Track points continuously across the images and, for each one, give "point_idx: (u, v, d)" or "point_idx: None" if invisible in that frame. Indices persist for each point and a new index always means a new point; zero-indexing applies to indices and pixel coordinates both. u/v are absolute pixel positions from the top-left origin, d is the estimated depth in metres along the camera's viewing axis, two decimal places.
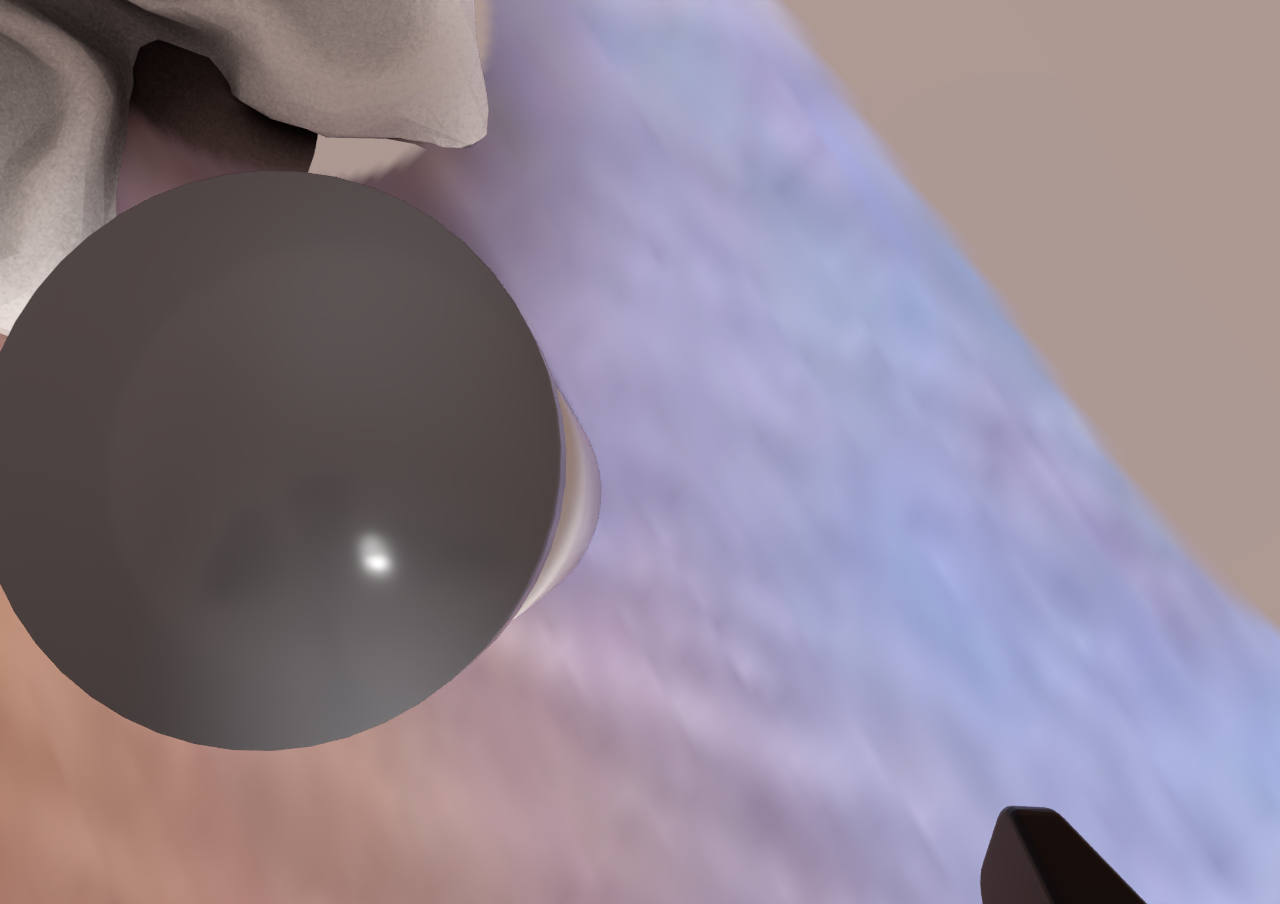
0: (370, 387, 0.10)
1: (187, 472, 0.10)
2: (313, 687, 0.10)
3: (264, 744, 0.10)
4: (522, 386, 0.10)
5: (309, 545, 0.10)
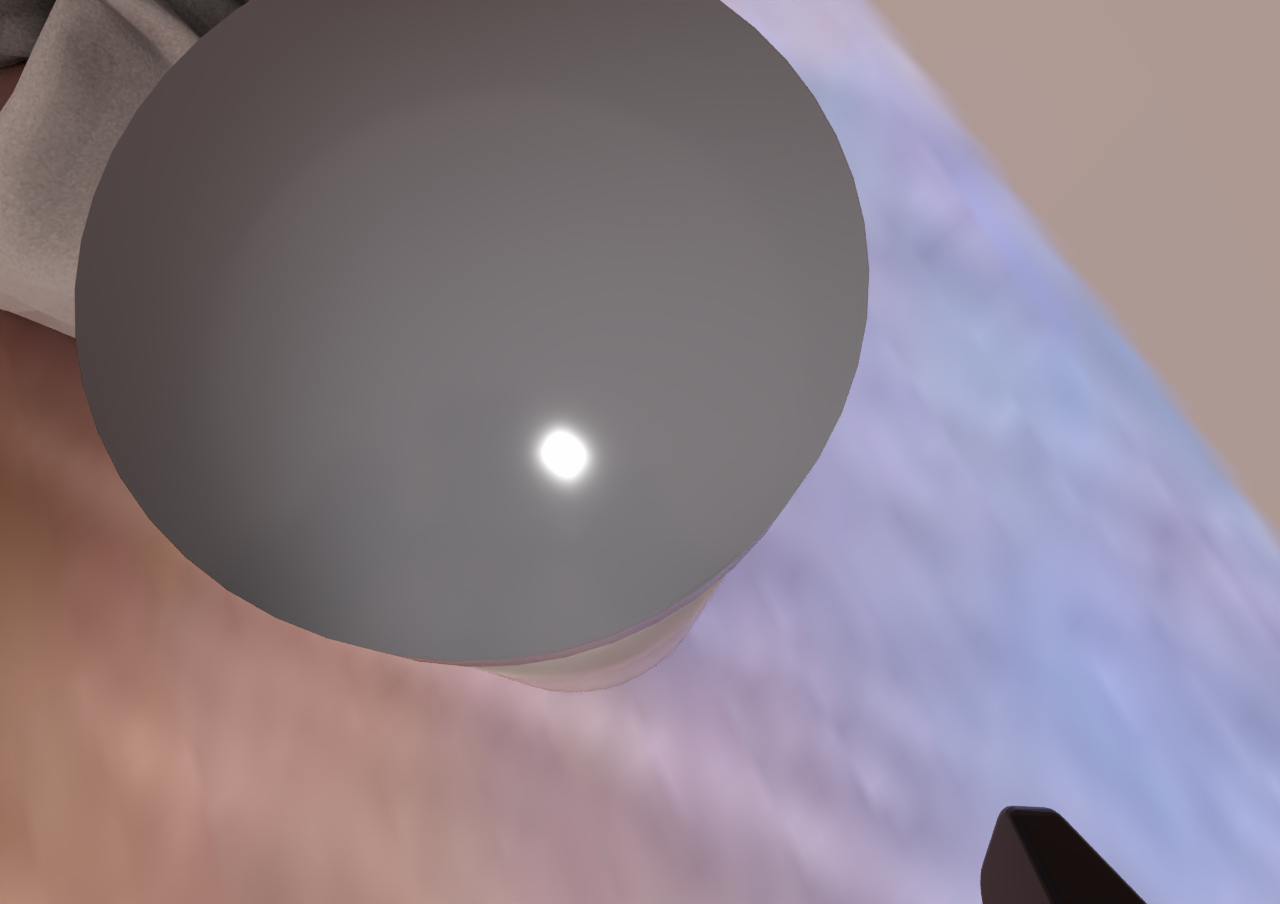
0: (621, 184, 0.07)
1: (365, 268, 0.07)
2: (508, 570, 0.07)
3: (427, 648, 0.06)
4: (823, 198, 0.07)
5: (521, 375, 0.07)
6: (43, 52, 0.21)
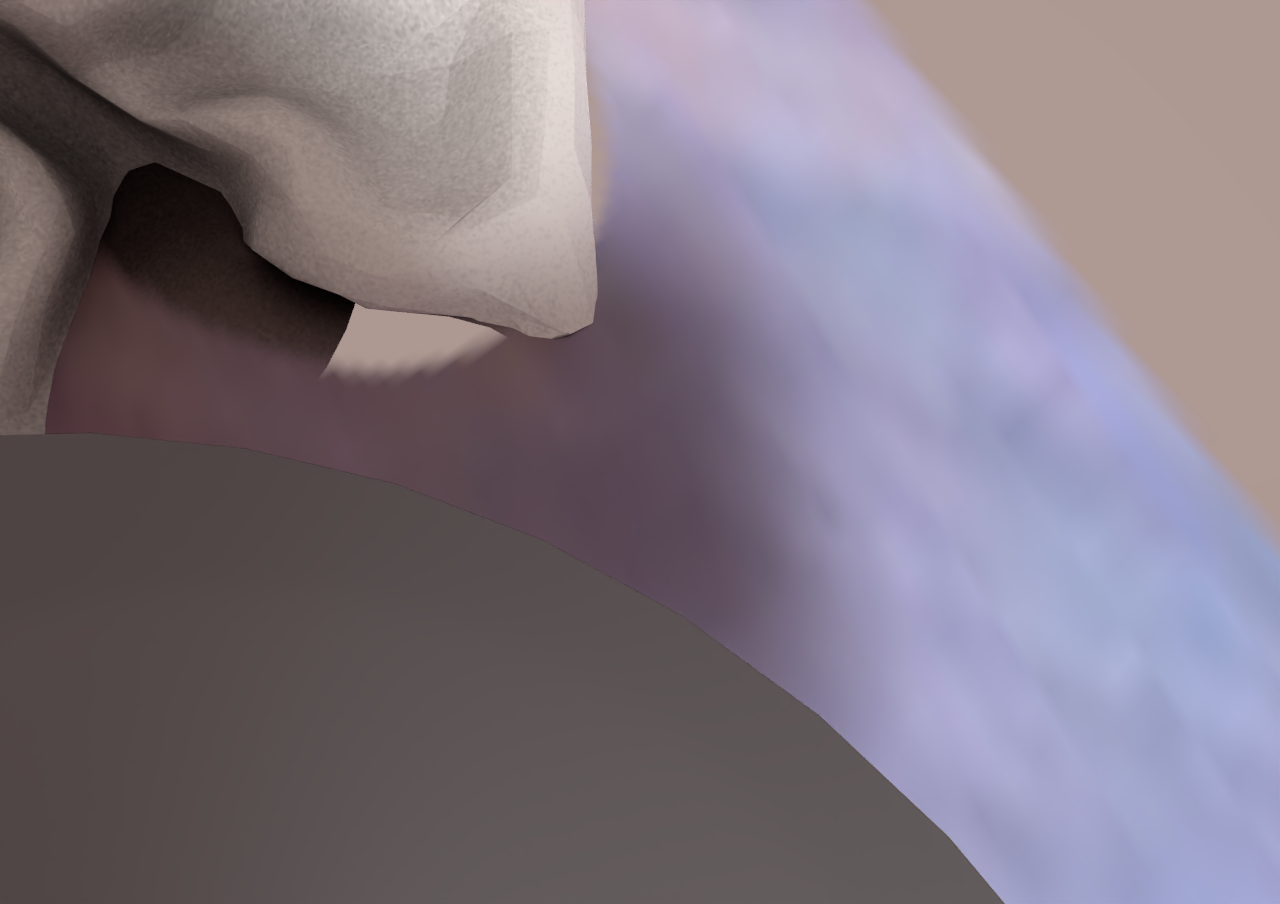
0: None
1: None
2: None
3: None
4: None
5: None
6: None
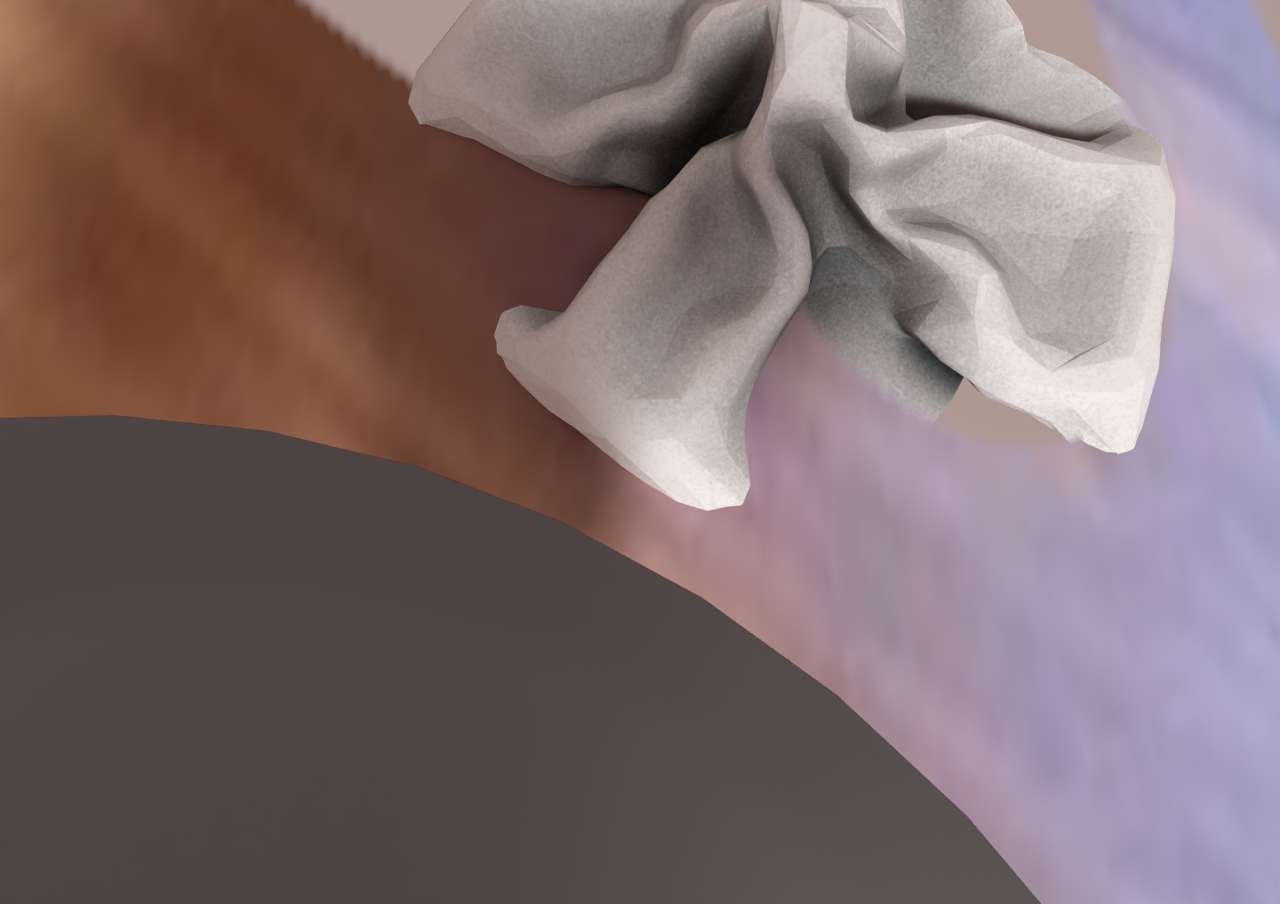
0: None
1: None
2: None
3: None
4: None
5: None
6: (667, 205, 0.23)
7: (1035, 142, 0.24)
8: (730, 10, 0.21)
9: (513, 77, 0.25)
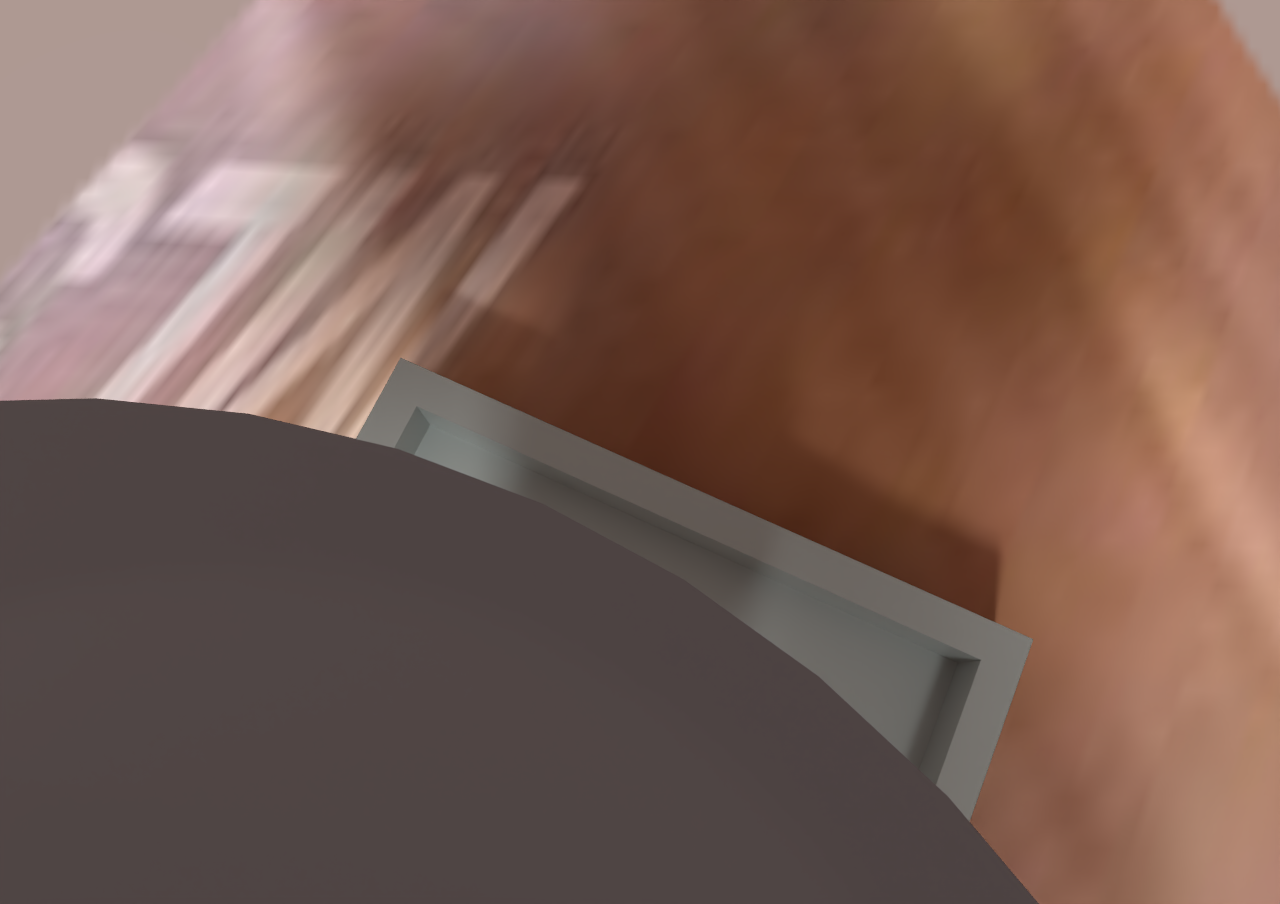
0: None
1: None
2: None
3: None
4: None
5: None
6: None
7: None
8: None
9: None
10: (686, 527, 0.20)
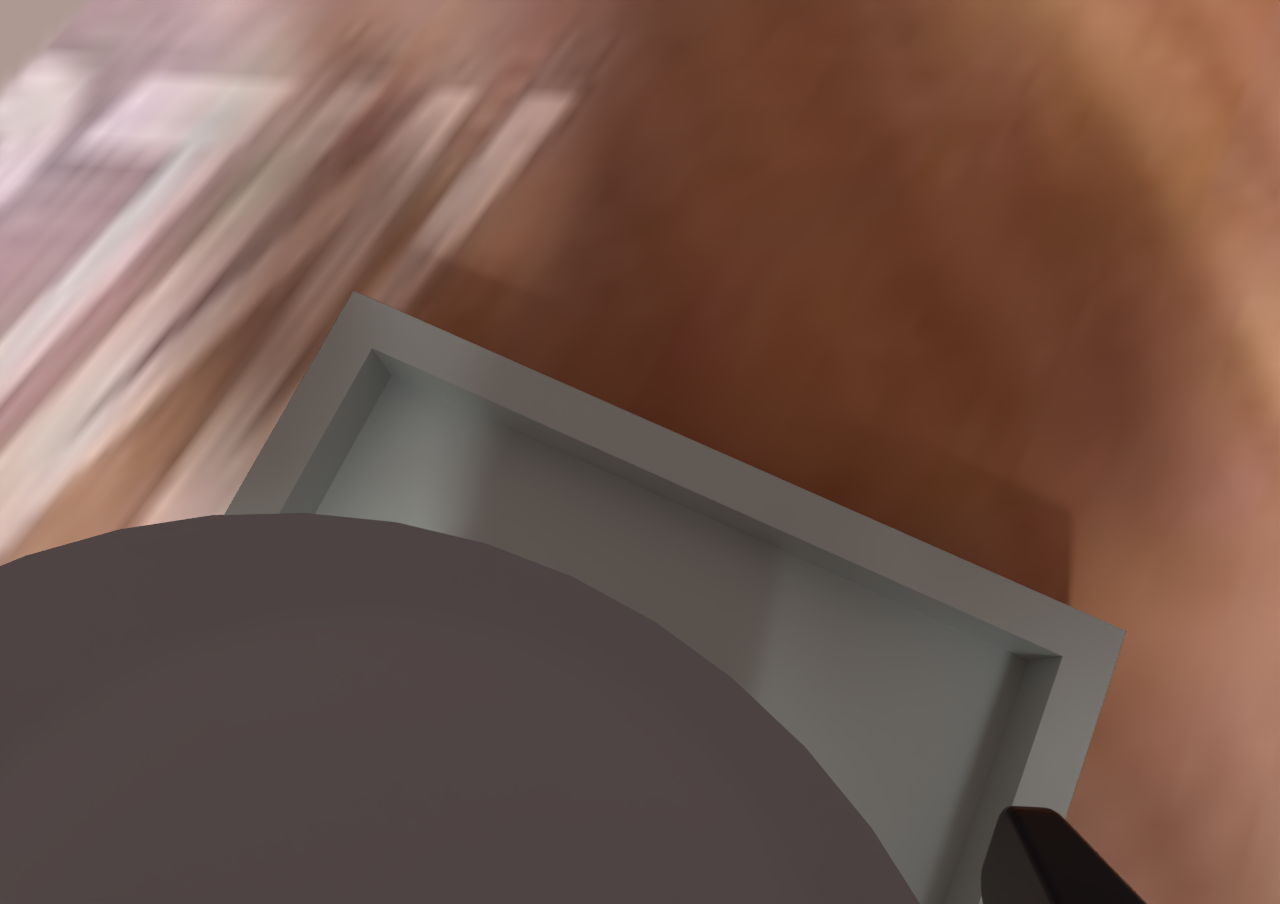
0: None
1: None
2: None
3: None
4: None
5: None
6: None
7: None
8: None
9: None
10: (699, 494, 0.16)
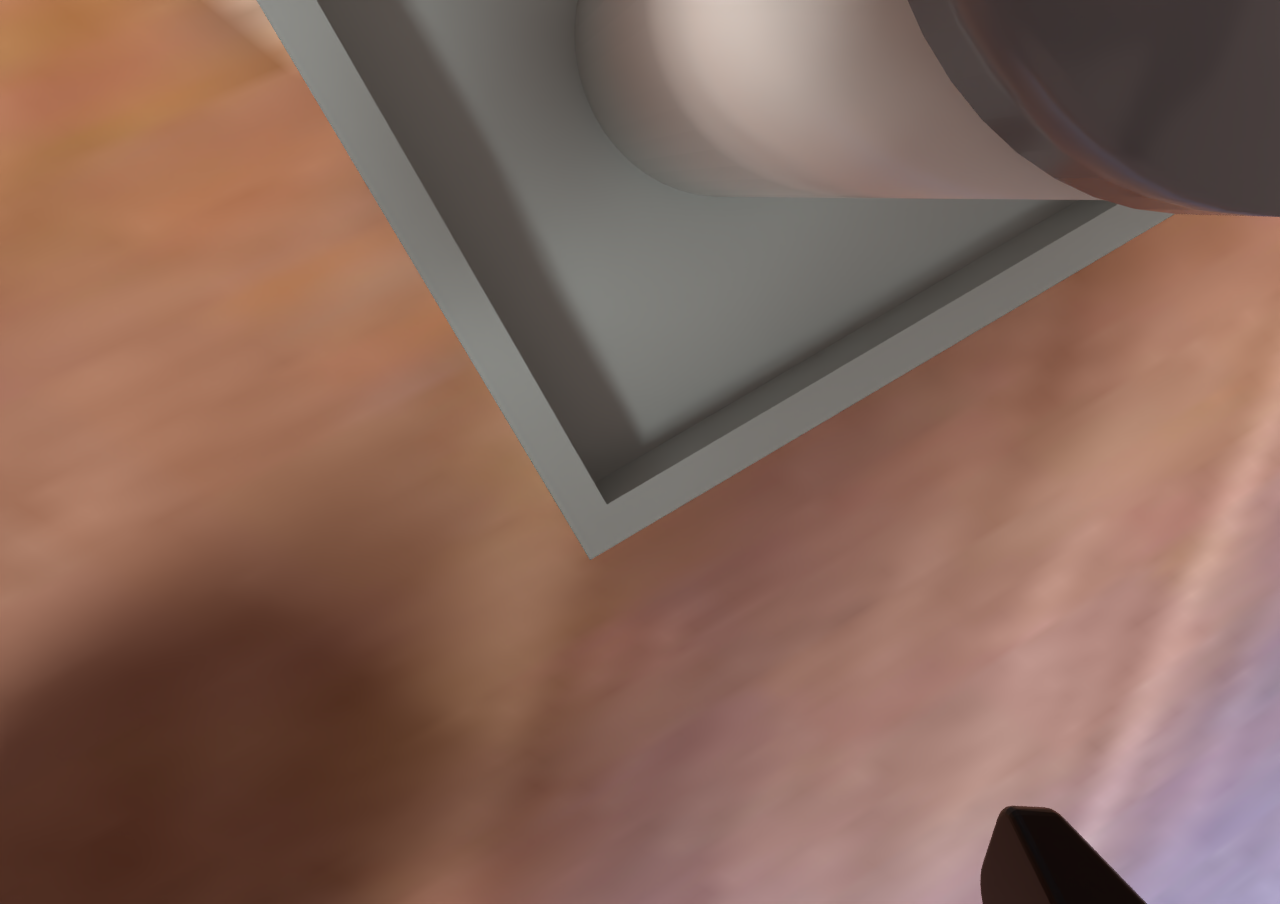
0: None
1: None
2: (1194, 76, 0.06)
3: (1084, 89, 0.06)
4: None
5: None
6: None
7: None
8: None
9: None
10: None
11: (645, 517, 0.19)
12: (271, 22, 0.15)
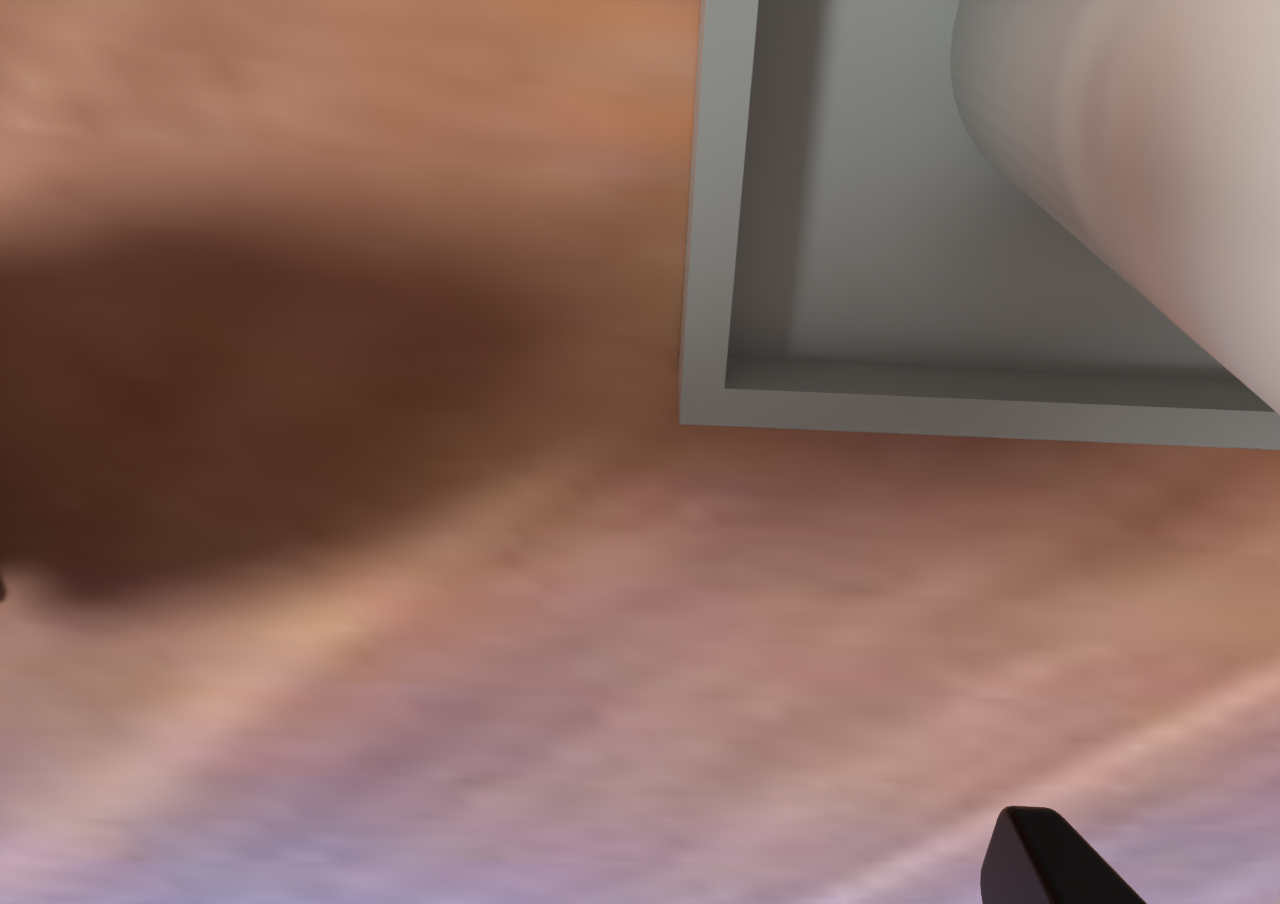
0: None
1: None
2: None
3: None
4: None
5: None
6: None
7: None
8: None
9: None
10: None
11: (748, 418, 0.19)
12: None
